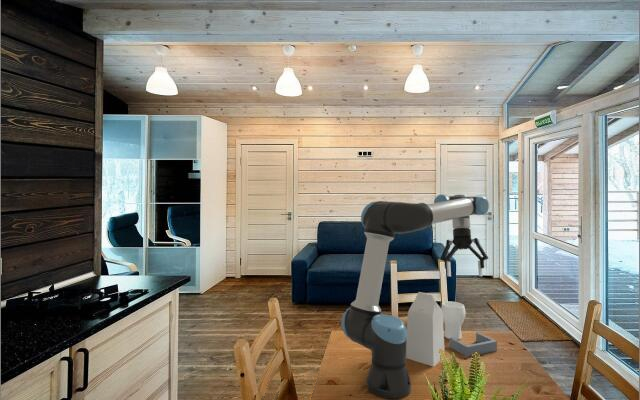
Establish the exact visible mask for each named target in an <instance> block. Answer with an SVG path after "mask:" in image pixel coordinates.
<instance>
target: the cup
mask: <svg viewBox="0 0 640 400" xmlns="http://www.w3.org/2000/svg"><path fill="white" fill-rule="evenodd" d="M440 308H441V309H442V312H443V323H444V338H446V339H448V340H449V338H450V337H452V338H454V339H456V340H457V341H459V340H461V339H462V335H463V334H462V330H461V329H462V324H463V323H464V321H465V318H466V308H465V304H463V303H461V302H457V301H443V302H442V304H441V306H440Z"/></svg>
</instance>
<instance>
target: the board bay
mask: <svg viewBox="0 0 640 400" xmlns="http://www.w3.org/2000/svg"><path fill="white" fill-rule="evenodd" d="M475 334H476V335H475V341H476V342H477V343H472V344H468V345H467V344H464V343H462V342H461V341H459V340H456V339H454V338H452V337H450V338H449V339H448V341H449V342H448V343H449V344H448V345H449V346H448V347H449V348H451V349H453V350H454V351H456V352H458V353H460V354H461V355H463V356H465V357H466V358H470V357H473V356H472V354H473V353H475V352H478V353H479V355H483V354H484V355H485V354H487V353H492V352H493V353H494V352H497V351H498V341H497V340H495V339H493V338H492V337H489V336H486V335H485V334H482V333H480V332H479V331H478V332H475Z"/></svg>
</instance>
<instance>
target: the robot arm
mask: <svg viewBox="0 0 640 400" xmlns="http://www.w3.org/2000/svg"><path fill="white" fill-rule="evenodd" d="M489 205H490V204H489V200H488V198H486V197H485V196H480V195H479V196H468V195H466V194H455V195H447V194H442V193H441V194H438V195H437V196H435V198H434V200H433V203H429V204H427V203H425V202H418V203H415V202H414V203H411V202H401V201H386V200H385V201H383V200H382V201H381V200H379V201H372V202H370V203H368V204H366V205H365V207H364V208H363V209H362V211H361V215H360V222H361V224H362V226H363V228H364V230H363V231H364V232H363V233H364V235H365V237H366V243H365V248H364V253H363V258H362V264H361V269H360V273H359V274H360V276H359V279H358V280H359V281H358V286H357V291H356V297H355V300H353V301H352V302H351V303H350V307H348V308H347V309H346V310H345V312H343V314H342V317H341V323H340V324H341V329H342V332H343V334H344V335H345V337H346V338H348V339H350V340H351V341H352V342H354V343H357V344H359V345H360V346H362V347H364V348H366V349H368V350H370V351H371V364H370V367H369V370H368V373H367V376H366V388H367V390H368V391H369V392H370V393H371V394H373V395H374V396H376V397H379V398H382V399H389V400H390V399H391V400H398V399H402V398H405V397H407V396H409V395H410V393H411V391H412V381H411V378H410V375H409V371H408V369H407V358H406V338H407V334H406V332H407V325H406V324H405V322H404V321H403V320H401V318H399V317H397V316H395V315H391V314H390V315H389V314H387V313H382V309H381V307H380V305H379V302H380V296H381V293H382V291H381V290H382V284H383V280H384V274H385V269H386V263H387V257H388V251H389V246H390V242H392V241H393V240H394V239H395V235H396V234H407V233H414V232H416V231H420V230H421V231H422V230H425V229H428V228H430V227H431V226H432V225H434V224H437V223H442V222H446V221H451V220H452V221H451V222H452V228H453V229H452V235H453V236H452V237H453V239H451V240H449V239H446V243H445V246H444V249H443V251H442V253H441V255H440V257H439V260H440V261H443V262H444V269H445V270H446V275H447V277H452V271H451V270H452V269H451V261H450V260H451V259H452V257H454V256H455V253H456V252H457V251H458V250H467V249H468V250H470V252H471V253H472V254H473V255H475V257H477V259H479V260H477V267H478V277H483V269H485V261H487V260H488V259H489V256H488V255H487V253H486V252H485V250H484V248H483V247H482V245H481V243H480V239H479V238H477V237H475V238H472V234H471V232H472V231H471V218H470V216H474V215H475V216H484V215H486V214H487V213H488V211H489V208H490V206H489ZM472 244H475V246H476V248H477V249H478V251H479V252H477V250H476V249H475V248H474V247H473V246H472ZM452 245H453V246H452ZM451 246H452V249H451V250H450V248H451ZM481 255H482V256H481Z"/></svg>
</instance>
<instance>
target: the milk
mask: <svg viewBox="0 0 640 400" xmlns="http://www.w3.org/2000/svg"><path fill="white" fill-rule="evenodd" d="M406 320H407V321H406V334H407V338H406V359H408V360H411V361H413V362H414V361H415V362H416V363H417V362H418V363H421V364H423V365H428V366H429V367H430V366H431V367H435V366H436V365H437V364H439V362H440V361H441V360H440V353H439V348H441V349H442V350H443V351H444V352H445V336H444V332H445V329H444V320H443V312H442V309H441V306H440V305H439V304H438V302H436V299H435V296H434V294H432V293H427V292H421V291H418V292H417V294H416V296H415V298H414V300H413V302H412V303H411V306H410V307H409V308H408V312H407V318H406Z"/></svg>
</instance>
